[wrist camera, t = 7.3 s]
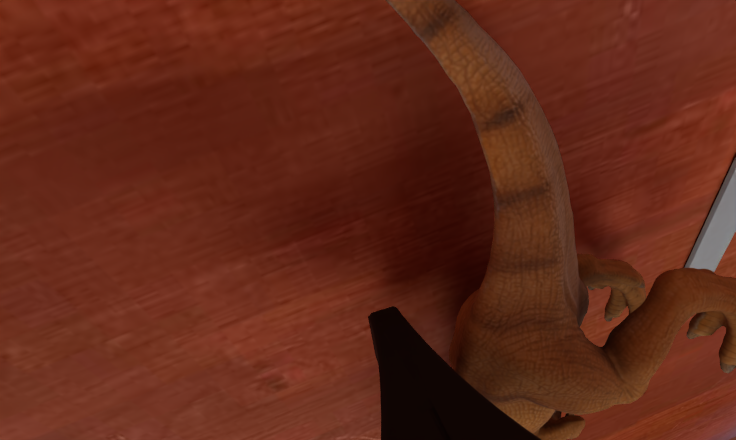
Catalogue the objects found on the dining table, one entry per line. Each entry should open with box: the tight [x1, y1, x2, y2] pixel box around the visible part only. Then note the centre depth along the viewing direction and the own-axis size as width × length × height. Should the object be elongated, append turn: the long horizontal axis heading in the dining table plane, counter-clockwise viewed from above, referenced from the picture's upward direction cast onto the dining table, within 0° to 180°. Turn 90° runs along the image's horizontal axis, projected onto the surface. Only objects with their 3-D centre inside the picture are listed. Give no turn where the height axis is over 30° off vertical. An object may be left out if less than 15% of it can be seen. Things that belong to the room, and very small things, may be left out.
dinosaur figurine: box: [386, 0, 736, 440], centre depth 11 cm, size 7×22×12 cm
